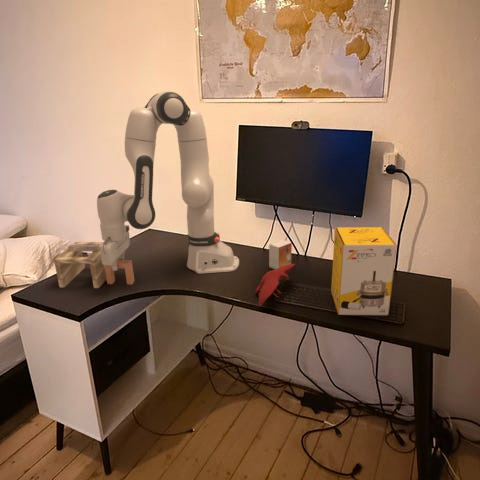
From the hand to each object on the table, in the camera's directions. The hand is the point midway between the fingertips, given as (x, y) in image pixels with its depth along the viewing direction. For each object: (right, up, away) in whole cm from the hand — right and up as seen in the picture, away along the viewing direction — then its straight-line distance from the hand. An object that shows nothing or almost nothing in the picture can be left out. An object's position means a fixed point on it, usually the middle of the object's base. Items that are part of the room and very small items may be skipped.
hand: (118, 266), depth 158 cm
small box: (+64, -1, +12) cm, 66 cm away
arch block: (0, -7, +3) cm, 7 cm away
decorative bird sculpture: (+59, -10, -11) cm, 61 cm away
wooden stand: (-14, -5, +8) cm, 17 cm away
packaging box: (+89, -12, -17) cm, 91 cm away
